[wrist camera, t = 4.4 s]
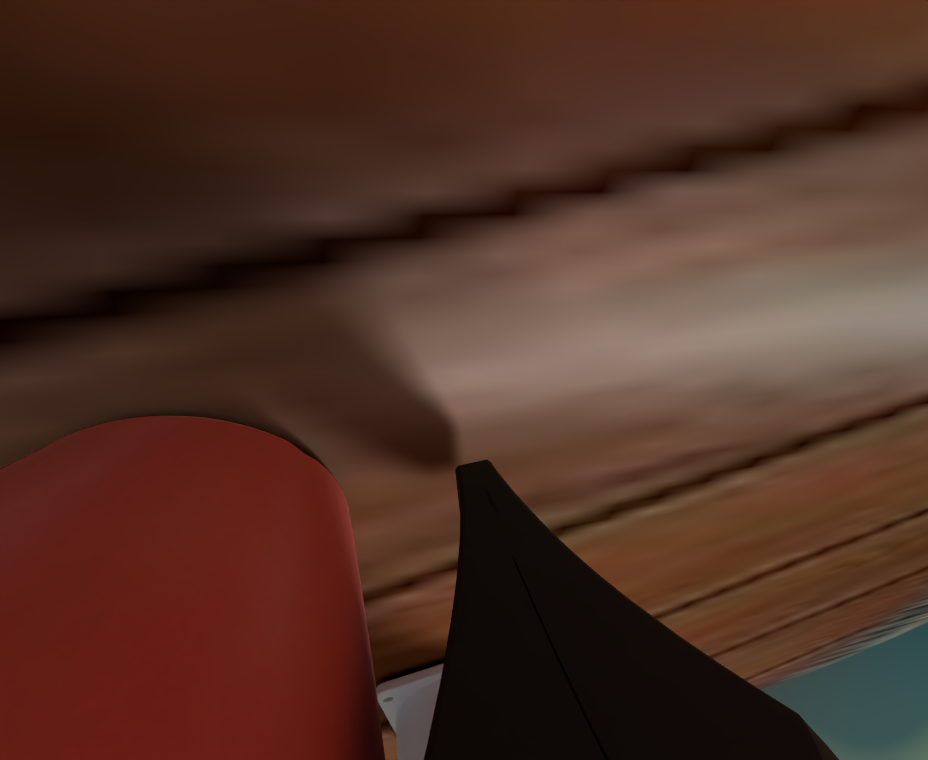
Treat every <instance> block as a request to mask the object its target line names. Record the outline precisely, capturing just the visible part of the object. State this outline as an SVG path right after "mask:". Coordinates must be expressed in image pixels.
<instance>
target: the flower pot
mask: <svg viewBox="0 0 928 760" xmlns="http://www.w3.org/2000/svg"><path fill="white" fill-rule="evenodd" d="M0 760H385V755H384V747H383V738H382V730H381V722H380V714H379V706H378V698H377V691H376V683H375V676H374V669H373V662H372V655H371V648H370V641H369V634H368V627H367V620H366V614H365V607H364V601H363V594H362V587H361V580H360V574H359V568H358V562H357V555H356V549H355V542H354V536H353V530H352V524H351V518H350V512H349V507H348V503H347V500H346V497H345V495H344V493H343V491H342V489H341V487H340V485H339V484H338V483H337V481H336V480H335V479H334V477H333V476H332V475H331V473H330V472H329V471H328V470H327V469H326V468H325V467H324V466H323V465H321V464H320V463H319V462H318V461H316V460H315V459H313V458H311V457H309V456H308V455H306V454H305V453H303V452H302V451H301V450H299V449H298V448H297V447H296V446H294V445H293V444H291V443H290V442H288V441H286V440H284V439H282V438H280V437H277V436H275V435H273V434H270V433H268V432H265V431H262V430H259V429H255V428H252V427H249V426H245V425H241V424H237V423H233V422H229V421H224V420H218V419H212V418H205V417H193V416H148V417H136V418H128V419H122V420H116V421H110V422H107V423H103V424H99V425H96V426H92V427H89V428H85V429H82V430H80V431H77V432H74V433H72V434H69V435H67V436H64V437H62V438H60V439H58V440H57V441H55V442H53V443H51V444H49V445H47V446H46V447H44V448H42V449H40V450H38V451H36V452H34V453H32V454H30V455H28V456H26V457H24V458H22V459H20V460H18V461H16V462H14V463H12V464H10V465H8V466H6V467H4V468H2V469H0Z"/></svg>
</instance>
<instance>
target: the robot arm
mask: <svg viewBox="0 0 928 760" xmlns="http://www.w3.org/2000/svg"><path fill="white" fill-rule="evenodd" d="M455 472H456V481H457V490H458V499H459V508H460V545H459V557H458V570H457V579H456V588H455V596H454V603H453V610H452V617H451V624H450V630H449V636H448V642H447V648H446V654H445V659H444V663H443V664H440V665H437V666H434V667H430V668H427V669H424V670H421V671H418V672H415V673H412V674H408V675H405V676H402V677H399V678H396V679H393V680H389V681H386V682H383V683H381V684H379V685H378V686H377V688H376V691H377V698H378V703H379V704H380V706H381V708H382V710H383V712H384V713H385V715H386V717H387V719H388V721H389V722H390V724H391V726H392V728H393V730H394V731H395V733H396V737H397V760H839V759H838V758H837V757H836V755H834V753H833V752H832V751H831V750H830V748H829V747H828V746H827V745H826V744H825V743H824V742H823V741H822V740H821V738H820V737H819V736H818V735H817V734H816V733H815V732H814V731H813V730H812V729H811V728H810V727H809V726H808V724H807V723H806V722H805V721H804V720H803V719H802V718H801V716H800V715H799V714H797V713H796V712H794V711H793V710H791V709H790V708H788V707H787V706H785V705H783V704H782V703H780V702H779V701H777V700H776V699H774V698H772V697H771V696H769V695H768V694H766V693H764V692H763V691H761V690H760V689H758V688H756V687H755V686H753V685H752V684H750V683H749V682H747V681H745V680H744V679H742V678H741V677H739V676H738V675H736V674H735V673H733V672H732V671H730V670H729V669H727V668H725V667H724V666H722V665H721V664H719V663H718V662H716V661H715V660H713V659H712V658H710V657H709V656H708V655H706V654H705V653H703V652H702V651H700V650H699V649H697V648H696V647H694V646H693V645H691V644H690V643H689V642H687V641H686V640H684V639H683V638H681V637H680V636H678V635H677V634H676V633H674V632H673V631H672V630H670V629H669V628H667V627H666V626H665V625H663V624H662V623H661V622H659V621H658V620H657V619H655V618H654V617H653V616H651V615H650V614H648V613H647V612H646V611H644V610H643V609H642V608H640V607H639V606H638V605H636V604H635V603H634V602H632V601H631V600H630V599H628V598H627V597H626V596H624V595H623V594H622V593H621V592H619V591H618V590H617V589H616V588H614V587H613V586H612V585H611V584H610V583H608V582H607V581H606V580H605V579H603V578H602V577H601V576H600V575H599V574H597V573H596V572H595V571H594V570H593V569H592V568H590V567H589V566H588V565H587V564H586V563H584V562H583V561H582V560H581V559H580V558H579V557H578V556H577V555H576V554H574V553H573V552H572V551H571V550H570V549H569V548H568V547H567V546H566V545H565V544H564V543H563V542H562V541H561V540H559V539H558V538H557V537H556V536H555V535H554V534H553V533H552V532H551V531H550V530H549V529H548V528H547V527H546V526H545V525H544V524H543V523H542V522H541V521H540V520H539V519H538V518H537V517H536V515H535V514H534V513H533V512H532V511H531V510H530V509H529V508H528V507H527V506H526V505H525V504H524V503H523V502H522V500H521V499H520V498H519V497H518V496H517V495H516V494H515V492H514V491H513V490H512V489H511V488H510V487H509V485H508V484H507V483H506V482H505V480H504V479H503V478H502V477H501V475H500V474H499V473H498V472H497V470H496V469H495V468H494V466H493V465H492V463H491V462H490V461H488V460H483V461H478V462H474V463H469V464H465V465H460V466H458V467H457V468H456V469H455Z"/></svg>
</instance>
